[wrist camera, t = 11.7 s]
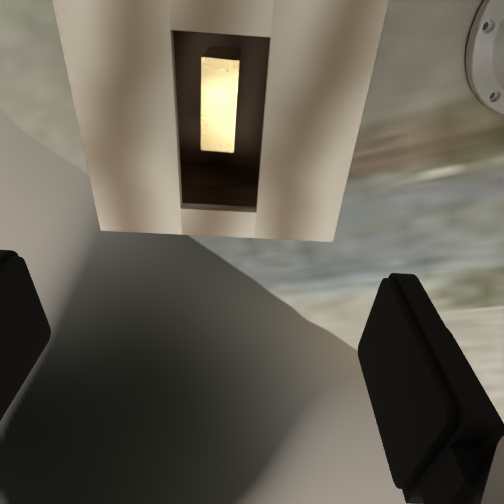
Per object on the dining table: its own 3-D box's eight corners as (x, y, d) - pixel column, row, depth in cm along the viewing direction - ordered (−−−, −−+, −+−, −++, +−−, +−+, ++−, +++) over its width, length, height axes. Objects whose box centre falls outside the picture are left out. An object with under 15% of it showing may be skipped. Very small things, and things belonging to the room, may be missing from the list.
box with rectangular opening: (337, -2, 27) (389, -3, 17) (308, 174, 35) (332, 241, 25) (121, -19, 26) (45, -31, 16) (143, 164, 34) (100, 230, 24)
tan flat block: (233, 152, 26) (236, 127, 31) (239, 60, 23) (240, 49, 28) (200, 150, 26) (208, 124, 31) (201, 56, 22) (210, 46, 28)
